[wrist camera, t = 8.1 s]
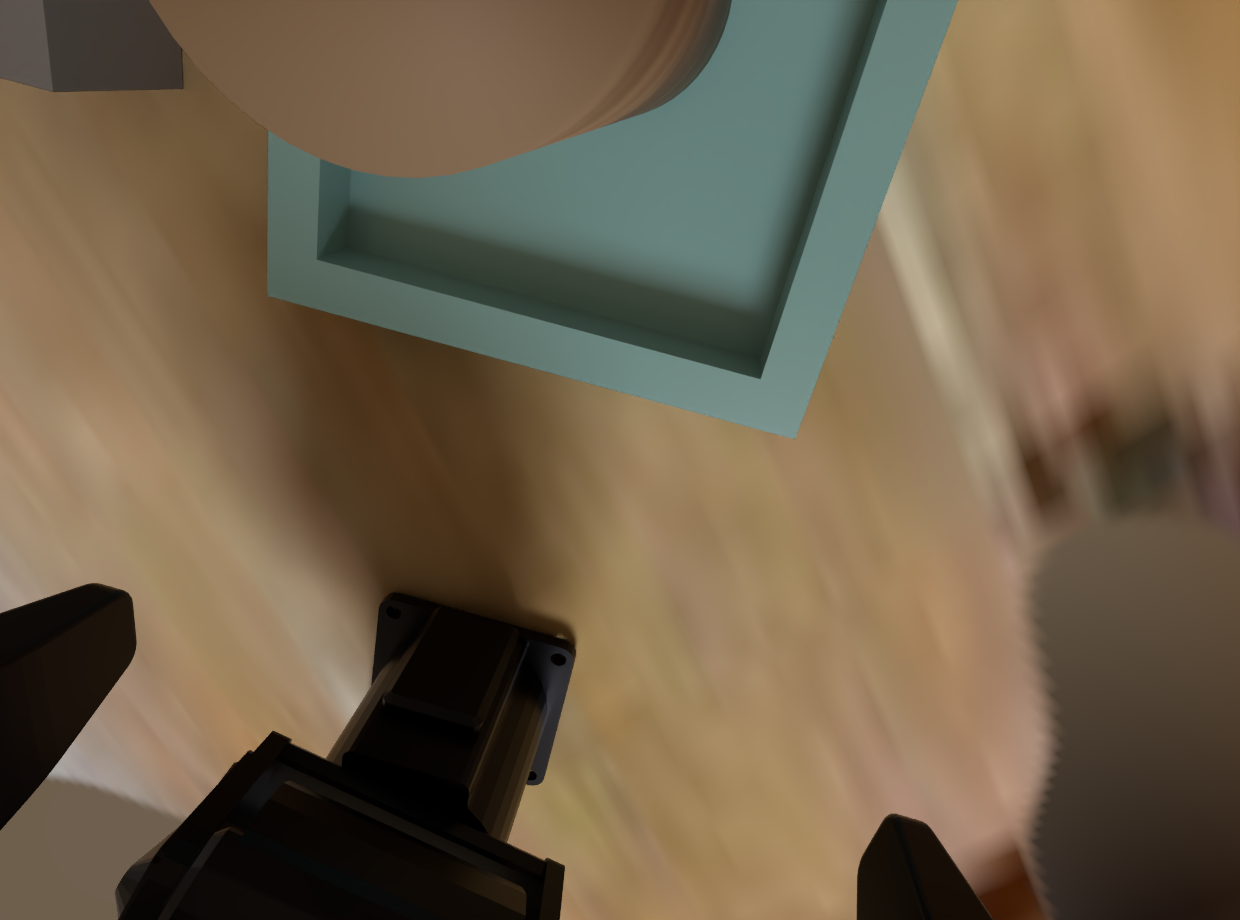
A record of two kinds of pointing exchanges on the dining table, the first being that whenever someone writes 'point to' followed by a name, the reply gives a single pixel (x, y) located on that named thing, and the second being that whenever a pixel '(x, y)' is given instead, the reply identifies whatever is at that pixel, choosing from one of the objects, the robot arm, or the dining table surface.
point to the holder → (87, 46)
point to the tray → (643, 221)
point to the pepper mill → (443, 71)
